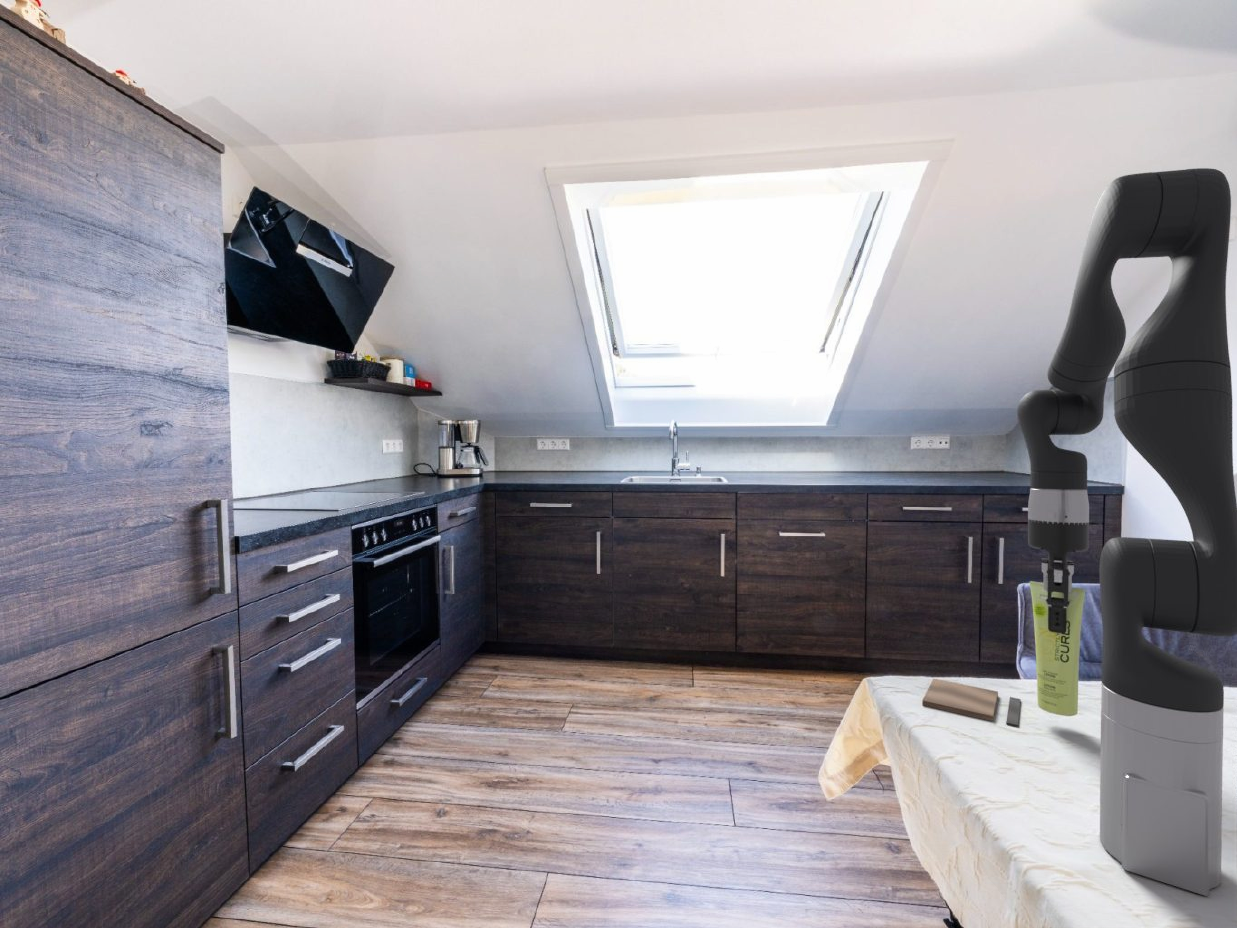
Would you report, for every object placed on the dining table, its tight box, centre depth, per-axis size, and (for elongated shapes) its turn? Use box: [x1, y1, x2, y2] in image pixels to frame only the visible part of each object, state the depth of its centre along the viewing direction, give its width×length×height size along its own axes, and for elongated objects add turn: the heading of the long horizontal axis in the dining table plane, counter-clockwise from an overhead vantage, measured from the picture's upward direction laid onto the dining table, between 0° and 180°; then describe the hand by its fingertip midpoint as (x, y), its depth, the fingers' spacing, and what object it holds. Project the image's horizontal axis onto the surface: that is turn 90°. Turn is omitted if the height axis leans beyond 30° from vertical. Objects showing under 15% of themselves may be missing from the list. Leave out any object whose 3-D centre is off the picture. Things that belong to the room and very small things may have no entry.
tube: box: [1029, 580, 1086, 717], centre depth 89 cm, size 6×5×20 cm
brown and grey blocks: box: [922, 678, 1021, 728], centre depth 98 cm, size 12×13×1 cm
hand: (1056, 627), depth 89 cm, fingers closed on tube, 4 cm apart
